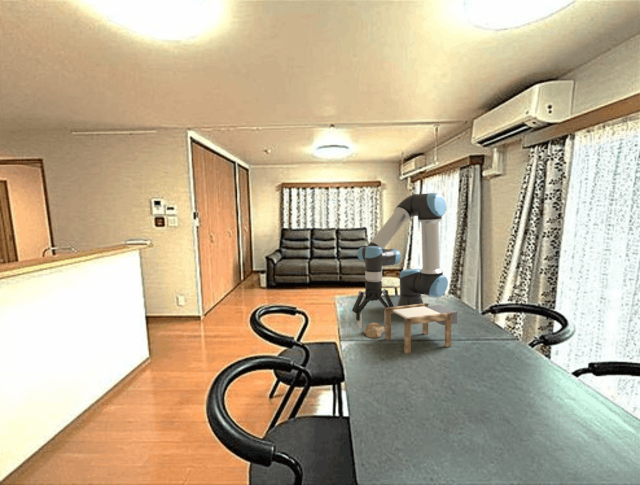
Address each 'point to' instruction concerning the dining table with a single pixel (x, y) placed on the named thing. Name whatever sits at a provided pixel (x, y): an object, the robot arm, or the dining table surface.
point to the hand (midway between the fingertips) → (373, 325)
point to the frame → (417, 320)
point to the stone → (374, 330)
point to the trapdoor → (427, 312)
